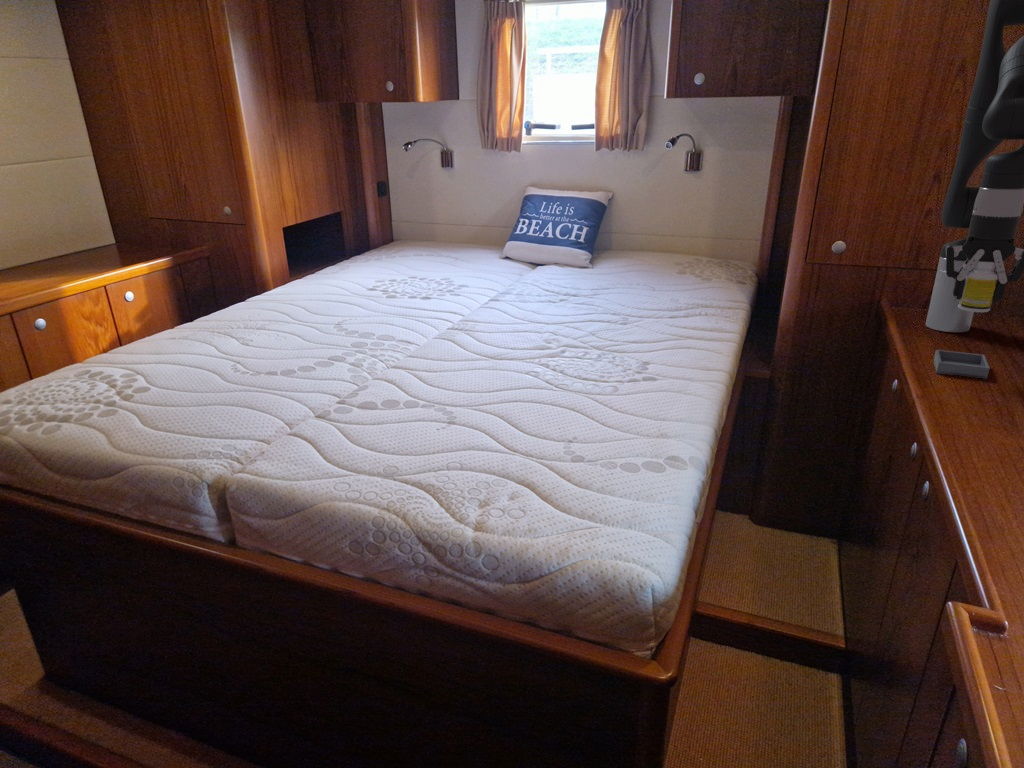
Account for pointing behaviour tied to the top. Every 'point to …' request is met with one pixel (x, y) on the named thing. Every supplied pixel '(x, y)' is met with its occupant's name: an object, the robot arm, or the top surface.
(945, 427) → the top surface
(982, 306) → the supplement bottle
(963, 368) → the tray
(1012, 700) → the top surface
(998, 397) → the top surface
